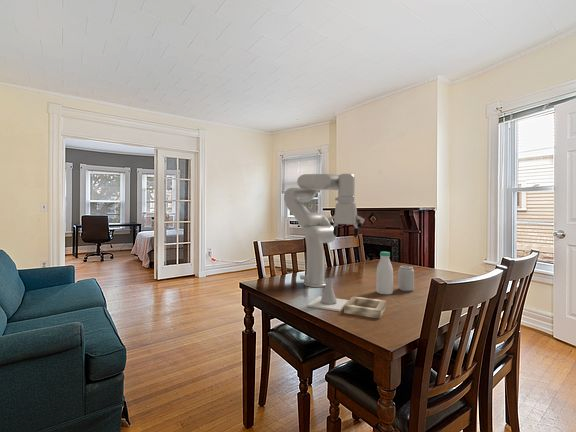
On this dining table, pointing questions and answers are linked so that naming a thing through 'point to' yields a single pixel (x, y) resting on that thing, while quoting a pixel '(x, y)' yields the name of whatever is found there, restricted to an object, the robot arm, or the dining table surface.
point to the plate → (334, 307)
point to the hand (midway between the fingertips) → (345, 236)
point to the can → (406, 278)
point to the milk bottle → (384, 274)
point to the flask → (328, 293)
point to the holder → (365, 311)
